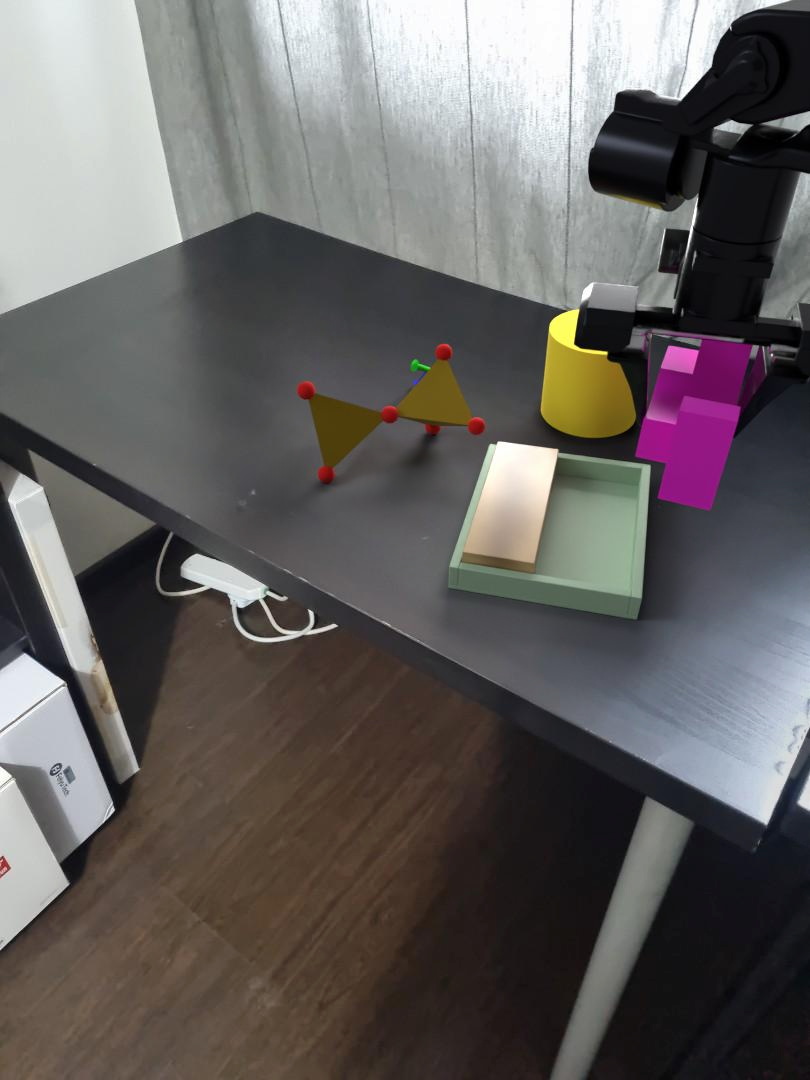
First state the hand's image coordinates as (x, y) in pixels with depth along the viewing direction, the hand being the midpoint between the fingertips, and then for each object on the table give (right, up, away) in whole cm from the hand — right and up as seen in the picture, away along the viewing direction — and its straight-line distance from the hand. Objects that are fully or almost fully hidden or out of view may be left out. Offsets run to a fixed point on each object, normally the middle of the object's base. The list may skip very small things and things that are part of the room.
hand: (686, 429), depth 64 cm
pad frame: (-9, -8, +9) cm, 15 cm away
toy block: (0, -1, +1) cm, 2 cm away
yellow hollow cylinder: (-2, +5, +24) cm, 25 cm away
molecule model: (-24, +2, +21) cm, 32 cm away
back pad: (-12, -7, +10) cm, 17 cm away
